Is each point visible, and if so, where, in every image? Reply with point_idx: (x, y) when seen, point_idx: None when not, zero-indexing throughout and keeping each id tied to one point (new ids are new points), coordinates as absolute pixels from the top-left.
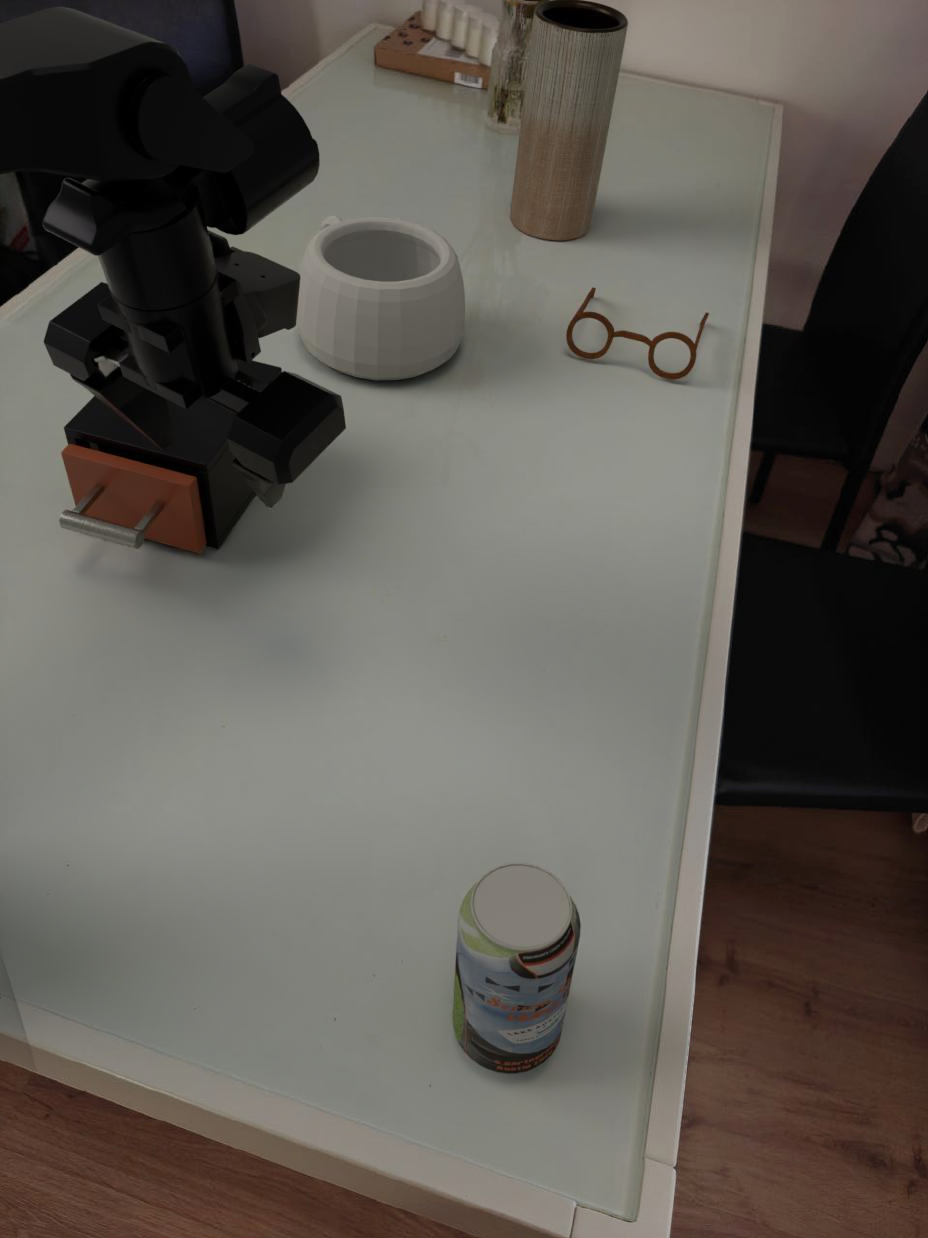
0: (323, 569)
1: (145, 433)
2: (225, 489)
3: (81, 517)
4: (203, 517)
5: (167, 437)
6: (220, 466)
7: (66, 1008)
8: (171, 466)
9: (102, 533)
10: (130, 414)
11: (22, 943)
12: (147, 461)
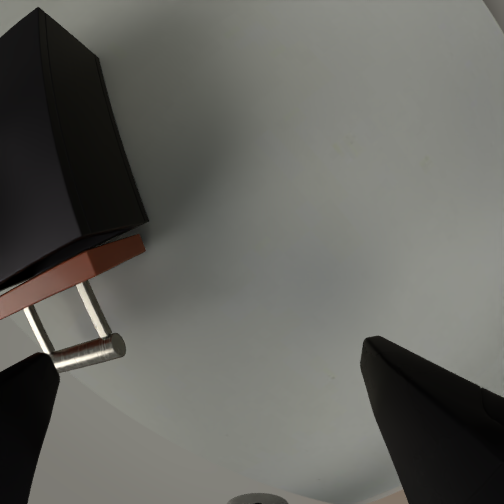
0: (266, 157)
1: (41, 446)
2: (108, 187)
3: (61, 366)
4: None
5: (42, 378)
6: (86, 192)
7: (370, 495)
8: None
9: (89, 365)
10: (22, 502)
11: (330, 499)
12: None
